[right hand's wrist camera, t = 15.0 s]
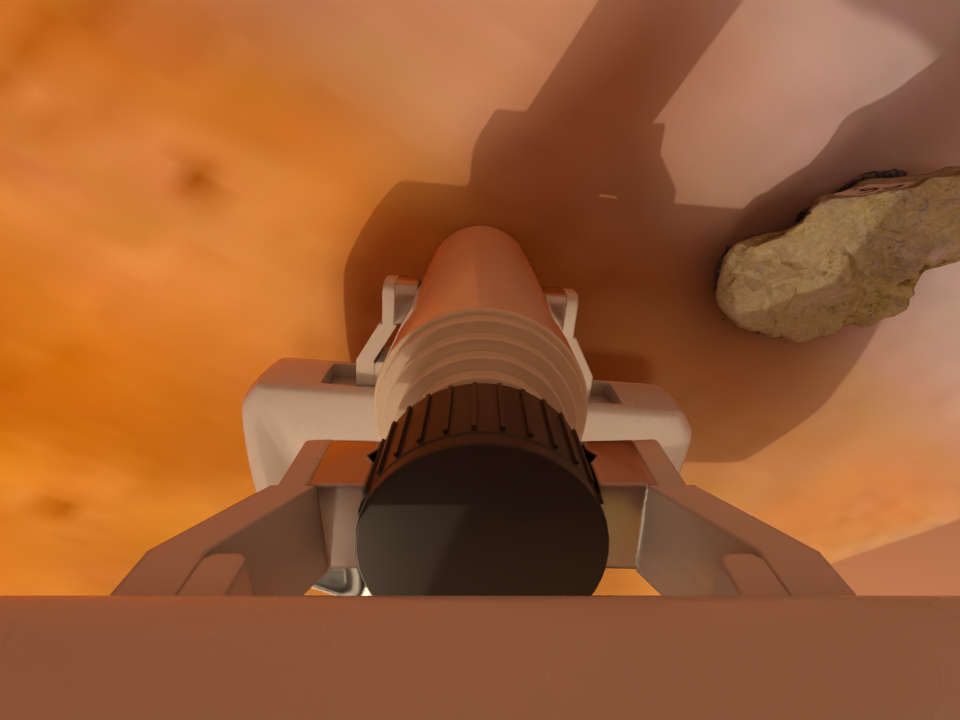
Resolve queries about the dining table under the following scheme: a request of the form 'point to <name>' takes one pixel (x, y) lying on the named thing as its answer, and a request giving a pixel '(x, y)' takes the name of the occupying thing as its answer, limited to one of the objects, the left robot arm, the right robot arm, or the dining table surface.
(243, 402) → the left robot arm
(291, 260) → the dining table surface
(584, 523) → the cap
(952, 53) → the dining table surface
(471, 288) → the bottle
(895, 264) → the rock
